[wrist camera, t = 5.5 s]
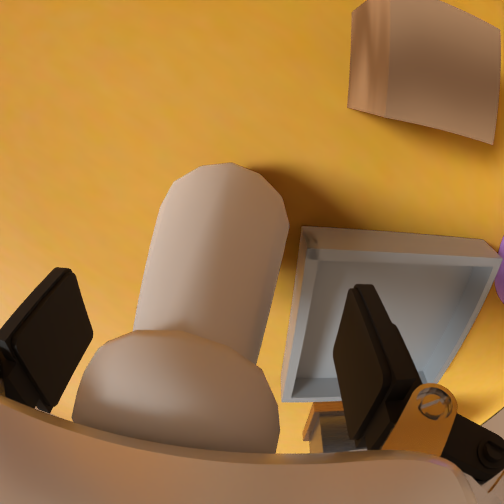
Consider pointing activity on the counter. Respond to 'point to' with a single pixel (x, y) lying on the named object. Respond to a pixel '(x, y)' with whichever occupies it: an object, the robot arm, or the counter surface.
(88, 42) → the counter surface
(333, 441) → the unit
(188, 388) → the salt shaker
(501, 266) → the masking tape
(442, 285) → the tray
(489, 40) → the walnut cube
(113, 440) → the robot arm
